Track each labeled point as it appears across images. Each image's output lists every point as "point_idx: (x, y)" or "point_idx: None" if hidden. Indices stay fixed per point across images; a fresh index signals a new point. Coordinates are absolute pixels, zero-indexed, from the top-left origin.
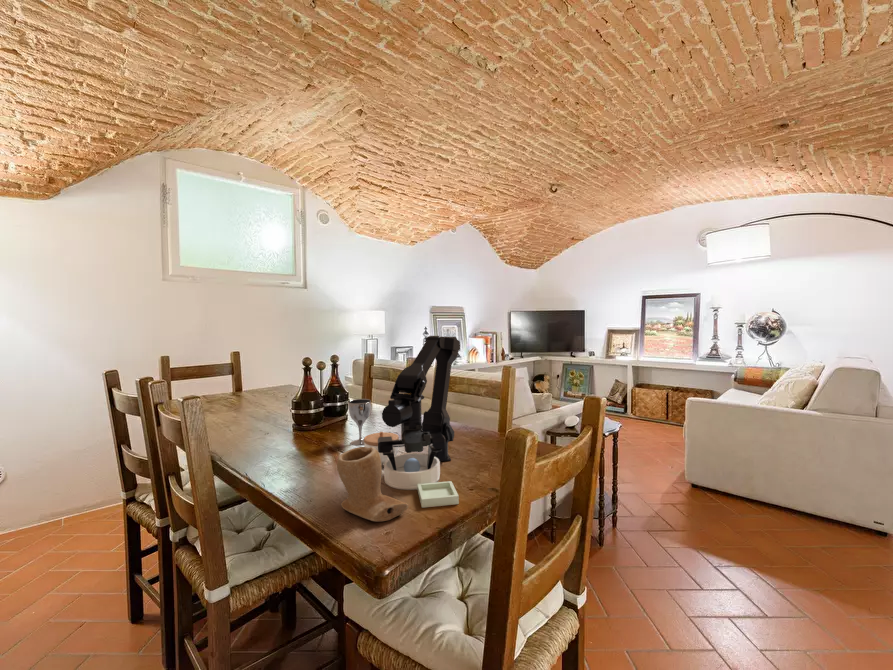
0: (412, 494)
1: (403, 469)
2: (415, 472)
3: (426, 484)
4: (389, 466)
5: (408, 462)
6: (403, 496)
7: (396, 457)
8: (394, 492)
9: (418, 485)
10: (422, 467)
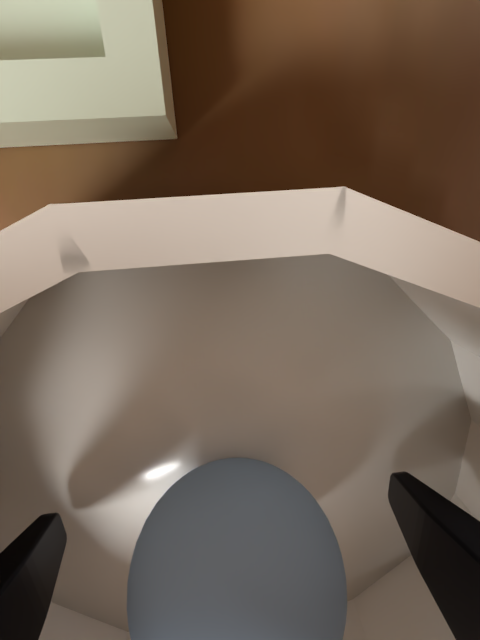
0: (239, 65)
1: None
2: (184, 215)
3: (6, 63)
4: None
5: (306, 625)
6: (350, 21)
7: None
8: (428, 165)
9: (147, 49)
10: None
